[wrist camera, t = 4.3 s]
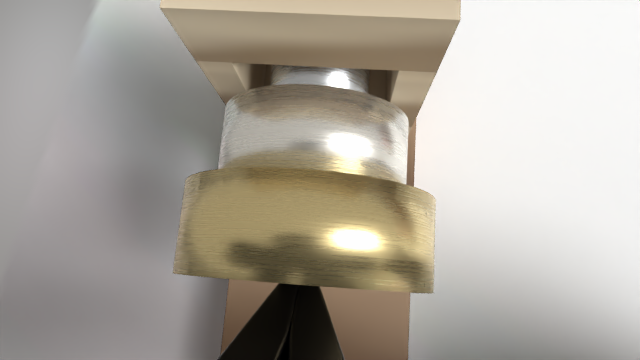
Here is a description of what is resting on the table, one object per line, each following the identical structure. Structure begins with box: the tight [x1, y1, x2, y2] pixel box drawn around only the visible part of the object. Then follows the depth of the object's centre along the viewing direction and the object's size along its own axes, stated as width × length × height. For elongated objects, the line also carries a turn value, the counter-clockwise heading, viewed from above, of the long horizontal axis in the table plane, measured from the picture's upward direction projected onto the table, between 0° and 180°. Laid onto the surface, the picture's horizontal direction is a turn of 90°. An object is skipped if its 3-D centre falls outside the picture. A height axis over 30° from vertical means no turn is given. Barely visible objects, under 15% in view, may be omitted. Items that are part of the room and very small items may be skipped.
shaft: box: [173, 65, 436, 293], centre depth 10 cm, size 9×5×5 cm, turn 176°
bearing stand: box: [160, 0, 461, 360], centre depth 12 cm, size 13×6×10 cm, turn 176°
